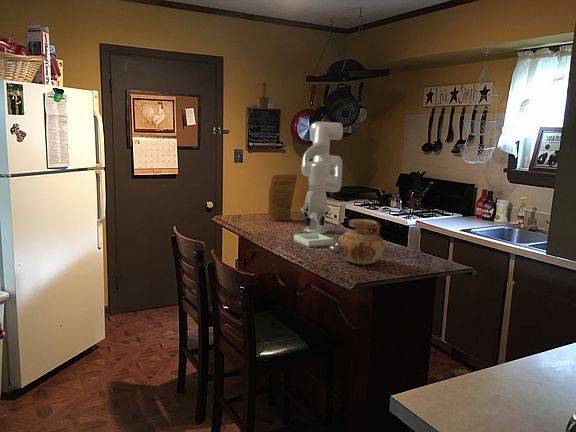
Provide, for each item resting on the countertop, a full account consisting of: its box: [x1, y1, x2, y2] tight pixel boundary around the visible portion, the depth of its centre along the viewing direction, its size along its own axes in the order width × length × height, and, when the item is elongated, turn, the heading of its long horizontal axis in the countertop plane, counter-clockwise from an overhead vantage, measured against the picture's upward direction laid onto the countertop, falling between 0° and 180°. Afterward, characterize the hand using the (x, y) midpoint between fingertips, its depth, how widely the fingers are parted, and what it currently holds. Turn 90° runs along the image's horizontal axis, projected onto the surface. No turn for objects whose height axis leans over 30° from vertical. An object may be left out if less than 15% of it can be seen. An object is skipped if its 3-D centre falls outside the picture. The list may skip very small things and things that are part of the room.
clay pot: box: [337, 218, 385, 266], centre depth 203 cm, size 19×19×20 cm
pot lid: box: [328, 242, 341, 255], centre depth 220 cm, size 8×8×4 cm
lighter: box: [306, 213, 323, 229], centre depth 233 cm, size 7×2×8 cm, turn 115°
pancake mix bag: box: [266, 173, 298, 222], centre depth 286 cm, size 7×19×28 cm, turn 120°
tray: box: [293, 233, 335, 248], centre depth 234 cm, size 14×14×3 cm
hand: (314, 225), depth 233 cm, fingers closed on lighter, 7 cm apart
